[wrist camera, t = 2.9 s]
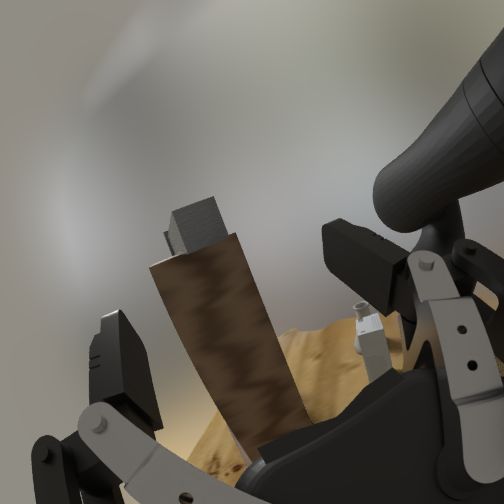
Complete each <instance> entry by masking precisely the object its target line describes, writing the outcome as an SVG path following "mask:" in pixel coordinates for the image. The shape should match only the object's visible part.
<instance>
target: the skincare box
mask: <svg viewBox="0 0 504 504" xmlns="http://www.w3.org/2000/svg"><path fill="white" fill-rule="evenodd" d="M356 329H357V336H358V341H359V344H360V348H361V351H362V355H363V358H364V362H365V366H366V370H367V374H368V378H369V382H370V383H372V382H373V381H374V380H376V379H377V378H379V377H380V376H381V375H383V374H384V373H385V372H387V371H388V370H389V369H390V368H393V367H392V362H391V358H390V353H389V349H388V345H387V341H386V337H385V332H384V328H383V325H382V322H381V319H380V316H379V313H376V314H372V315H370V316H367V317H363V318H360V319H357V320H356Z"/></svg>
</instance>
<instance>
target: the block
mask: <svg viewBox="0 0 504 504" xmlns="http://www.w3.org/2000/svg"><path fill="white" fill-rule="evenodd" d="M164 236H165V238H166V241H167V244H168V246H169V249H170V251H171V254H172V256H175V255H185V254H190V253H193V252H195V251H197V250H200V249H202V248H205V247H207V246H210V245H212V244H215V243H217V242H220V241H222V240H225V239H227V238H230V237H229V235H228V232H227V230H226V227H225V225H224V222H223V220H222V217H221V214H220V212H219V209H218V207H217V204H216V201H215V199H214V196H213V197H210V198H207V199H205V200H202V201H199V202H196V203H193V204H191V205H188V206H185V207H183V208H180V209H177V210H175V211H172V213H171V220H170V225H169V230H168V231H166V232H164Z"/></svg>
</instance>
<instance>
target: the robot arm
mask: <svg viewBox="0 0 504 504" xmlns="http://www.w3.org/2000/svg"><path fill="white" fill-rule="evenodd" d="M503 181H504V28H503V29H502V31H501V32H500V33H499V35H498V36H497V37H496V39H495V40H494V41H493V42H492V44H491V45H490V46H489V47H488V48H487V50H486V51H485V52H484V53H483V54H482V56H481V57H480V59H479V60H478V61H477V63H476V64H475V65H474V67H473V68H472V69H471V71H470V72H469V73H468V75H467V76H466V77H465V78H464V80H463V81H462V82H461V84H460V85H459V87H458V88H457V90H456V91H455V93H454V94H453V95H452V97H451V98H450V99H449V100H448V102H447V103H446V104H445V105H444V107H443V108H442V109H441V110H440V111H439V112H438V114H437V115H436V116H435V117H434V119H433V120H432V121H431V122H430V124H429V125H428V126H427V128H426V129H425V130H424V131H423V133H422V134H421V135H420V136H419V138H418V139H417V140H416V141H415V142H414V143H413V144H412V145H411V146H410V147H409V148H408V149H406V150H405V151H404V152H403V153H402V154H401V155H399V156H398V157H397V158H396V159H394V160H393V161H392V162H391V163H389V164H388V165H387V166H386V167H384V168H383V169H382V170H381V171H380V172H379V174H378V175H377V177H376V180H375V182H374V186H373V203H374V208H375V211H376V213H377V215H378V217H379V218H380V219H381V221H382V222H383V223H384V224H385V225H386V226H387V227H389V228H390V229H392V230H394V231H397V232H400V233H410V232H414V231H416V230H419V229H421V228H422V233H421V236H420V239H419V241H418V243H417V244H416V246H415V247H414V248H413V250H412V251H411V252H408V251H406V250H405V249H403V248H401V247H400V246H398V245H396V244H394V243H392V242H391V241H389V240H387V239H384V238H383V237H382V236H380V235H377V234H376V233H375V232H373V231H371V230H369V229H367V228H365V227H360V226H356V225H353V224H351V223H349V222H347V221H345V220H343V219H341V218H338V219H336V220H334V221H331V222H329V223H327V224H324V225H323V226H322V241H323V254H324V261H325V264H326V266H327V268H328V269H329V271H330V272H331V273H332V274H334V275H335V276H336V277H337V278H339V279H340V280H341V281H342V282H344V283H345V284H346V285H347V286H349V287H350V288H351V289H352V290H353V291H355V292H356V293H357V294H358V295H360V296H361V297H362V298H363V299H364V300H366V301H367V302H368V303H369V304H371V305H372V306H373V307H374V308H375V309H377V310H378V311H379V312H380V313H381V314H383V315H384V316H385V317H387V316H388V315H389V314H391V313H392V312H394V311H395V310H396V311H397V312H398V324H399V330H400V337H401V343H402V350H403V369H402V373H398V372H397V371H396V370H394V369H393V368H390V369H389V370H388V371H387V372H385V373H384V374H383V375H381V376H380V377H379V378H377V379H376V380H374V381H373V382H372V383H370V384H369V385H367V386H366V387H365V388H364V389H363V390H362V391H361V392H360V393H359V394H358V395H357V396H356V398H355V399H354V400H353V401H352V402H351V403H350V404H349V405H348V406H347V407H346V408H345V409H344V411H343V412H342V413H341V414H340V415H338V416H337V417H335V418H333V419H330V420H327V421H324V422H321V423H317V424H314V425H311V426H307V427H304V428H300V429H297V430H294V431H292V432H290V433H288V434H286V435H284V436H282V437H280V438H278V439H276V440H274V441H272V442H269V443H267V444H265V445H263V446H261V447H258V448H257V449H258V451H259V453H260V455H261V456H260V457H259V458H258V459H256V460H255V461H254V462H253V463H252V464H251V465H250V466H249V467H248V468H247V469H246V470H245V471H244V472H243V474H242V475H241V476H240V478H239V480H238V481H237V483H236V485H235V487H232V486H230V485H228V484H226V483H224V482H222V481H220V480H218V479H216V478H214V477H213V476H211V475H209V474H207V473H205V472H204V471H202V470H200V469H198V468H197V467H195V466H193V465H192V464H190V463H188V462H187V461H185V460H183V459H182V458H180V457H179V456H177V455H176V454H174V453H172V452H171V451H169V450H168V449H166V448H165V447H163V446H162V445H161V444H159V443H158V442H156V438H155V434H154V431H157V430H160V429H163V428H164V427H163V423H162V420H161V416H160V413H159V408H158V404H157V400H156V395H155V391H154V387H153V382H152V377H151V373H150V368H149V363H148V357H147V352H146V349H145V347H144V344H143V342H142V341H141V339H140V337H139V336H138V334H137V333H136V331H135V330H134V328H133V327H132V325H131V324H130V322H129V321H128V319H127V318H126V316H125V314H124V313H123V312H122V311H121V310H117V311H115V312H112V313H110V314H107V315H105V316H103V317H101V332H100V333H99V334H96V335H95V336H94V338H93V341H92V343H91V345H90V352H89V359H90V361H89V369H90V370H89V404H90V405H89V407H87V408H86V409H85V410H84V411H83V413H82V414H81V416H80V418H79V421H78V430H77V431H76V432H74V433H73V434H71V435H70V436H68V437H67V438H65V439H64V440H62V441H59V440H58V439H56V438H55V437H53V436H50V435H45V436H42V437H40V438H39V439H38V440H37V441H36V442H35V444H34V446H33V449H32V453H31V461H32V473H33V482H34V491H35V498H36V504H82V500H81V496H80V492H81V495H82V499H83V503H84V504H125V503H124V500H123V497H122V494H121V490H120V488H119V485H120V484H121V483H123V482H124V483H125V484H126V485H125V486H124V488H125V490H126V491H127V492H128V493H129V494H130V495H131V496H132V497H133V498H134V499H135V500H137V501H138V502H139V503H140V504H504V377H502V376H500V373H499V369H498V366H497V363H496V359H495V356H496V357H497V358H498V359H500V360H501V361H502V362H503V363H504V259H503V258H501V257H500V256H498V255H497V254H495V253H493V252H492V251H490V250H488V249H487V248H486V247H484V246H482V245H481V244H479V243H477V242H475V241H473V240H470V239H465V232H464V227H463V221H462V216H461V210H460V205H459V201H458V199H459V198H462V197H465V196H468V195H470V194H473V193H476V192H479V191H481V190H484V189H486V188H489V187H491V186H494V185H496V184H498V183H501V182H503ZM477 281H478V282H480V283H481V284H483V285H484V286H485V287H487V288H488V289H489V290H491V291H492V292H493V293H495V294H496V296H497V297H498V300H499V305H498V308H497V310H496V311H495V310H494V309H492V308H491V307H490V306H489V305H487V304H486V303H485V302H484V301H482V300H481V299H480V298H478V297H477V296H476V295H474V294H473V291H474V289H475V286H476V283H477ZM494 355H495V356H494Z"/></svg>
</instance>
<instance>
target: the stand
mask: <svg viewBox="0 0 504 504" xmlns="http://www.w3.org/2000/svg"><path fill="white" fill-rule="evenodd" d="M229 237H230V238H227V239H225V240H222V241H220V242H217V243H215V244H212V245H210V246H207V247H205V248H202V249H200V250H197V251H195V252H193V253H190V254H185V255H175V256H172V257H169V258H167V259H165V260H162V261H160V262H158V263H155V264H153V265H152V266H150V267H149V269H150V272H151V274H152V277H153V278H154V282H155V284H156V286H157V289H158V291H159V293H160V296H161V298H162V300H163V303H164V305H165V307H166V309H167V311H168V314H169V316H170V318H171V320H172V322H173V324H174V327H175V329H176V331H177V333H178V335H179V337H180V339H181V341H182V343H183V345H184V347H185V349H186V351H187V353H188V355H189V357H190V359H191V361H192V363H193V365H194V367H195V369H196V370H197V372H198V374H199V376H200V378H201V379H202V381H203V383H204V385H205V387H206V389H207V390H208V392H209V394H210V396H211V397H212V399H213V401H214V403H215V405H216V406H217V408H218V410H219V411H220V413H221V415H222V416H223V418H224V420H225V421H226V423H227V425H228V428H229V430H230V432H231V434H232V436H233V438H234V440H235V442H236V445H237V447H238V449H239V451H240V453H241V455H242V457H243V459H244V461H245V463H246V465H247V467H249V466H250V465H251V464H252V463H253V462H254V461H255V460H256V459H258V458H259V457H260V456H261V455H260V453H259V451H258V449H257V448H258V447H261V446H263V445H265V444H267V443H269V442H272V441H274V440H276V439H278V438H280V437H282V436H284V435H286V434H288V433H290V432H292V431H294V430H297V429H300V428H304V427H307V426H311V425H314V424H313V423H312V422H311V421H310V419H309V416H308V414H307V411H306V409H305V407H304V404H303V402H302V399H301V397H300V394H299V392H298V389H297V387H296V384H295V382H294V379H293V377H292V374H291V372H290V369H289V367H288V364H287V362H286V359H285V357H284V354H283V352H282V349H281V347H280V344H279V342H278V339H277V337H276V334H275V332H274V329H273V327H272V324H271V321H270V319H269V317H268V314H267V312H266V309H265V306H264V304H263V301H262V299H261V296H260V294H259V291H258V289H257V286H256V283H255V281H254V278H253V276H252V274H251V271H250V268H249V266H248V263H247V260H246V258H245V255H244V253H243V250H242V248H241V245H240V242H239V240H238V237H237V235H236V233H232V234H230V235H229Z"/></svg>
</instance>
